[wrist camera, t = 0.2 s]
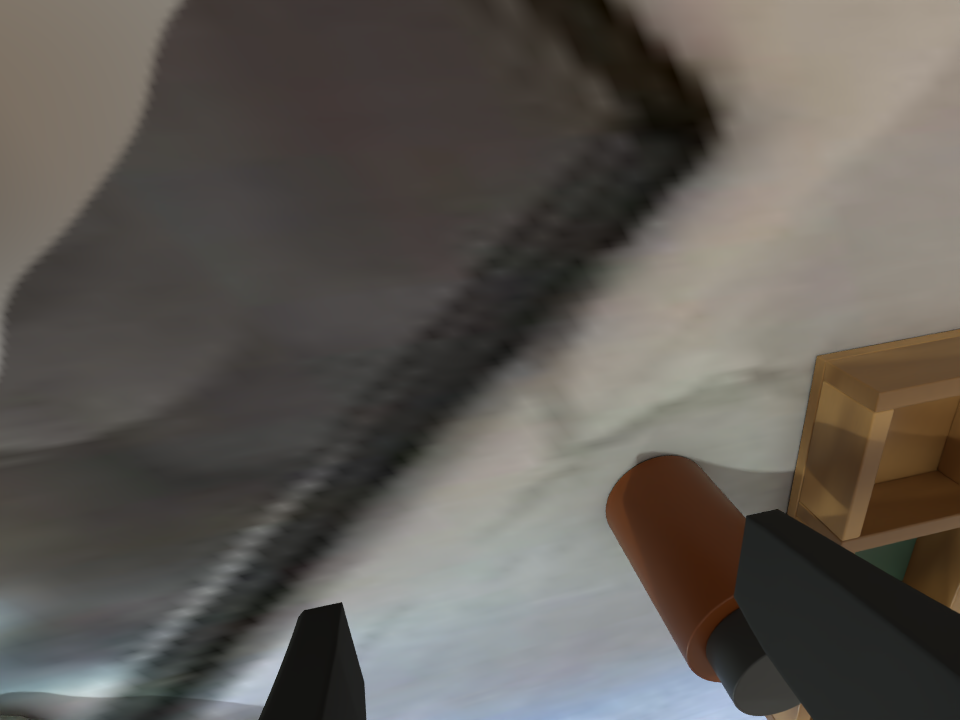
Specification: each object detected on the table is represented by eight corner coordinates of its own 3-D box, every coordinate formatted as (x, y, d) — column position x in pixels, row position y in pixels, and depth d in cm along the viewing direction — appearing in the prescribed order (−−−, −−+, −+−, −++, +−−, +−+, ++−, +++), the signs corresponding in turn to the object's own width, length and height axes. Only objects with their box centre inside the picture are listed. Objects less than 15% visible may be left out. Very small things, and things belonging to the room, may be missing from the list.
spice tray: (873, 663, 32) (920, 715, 29) (751, 696, 31) (788, 753, 28) (987, 323, 23) (1070, 355, 20) (816, 355, 22) (880, 393, 19)
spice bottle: (701, 528, 25) (839, 708, 18) (605, 550, 24) (707, 744, 17) (710, 445, 23) (870, 609, 16) (605, 467, 22) (721, 647, 15)
